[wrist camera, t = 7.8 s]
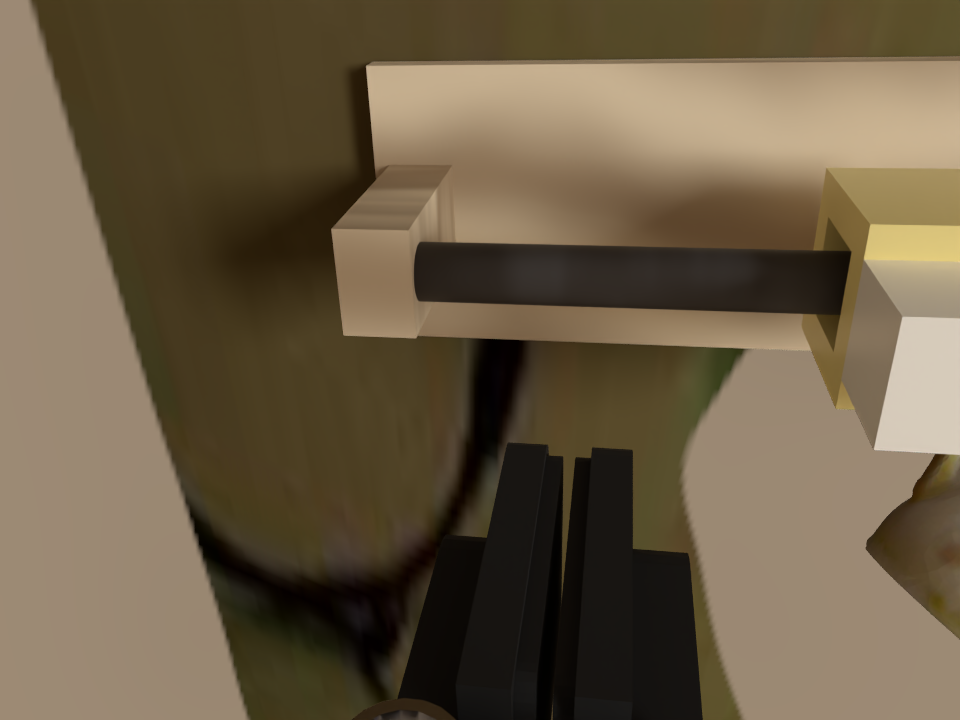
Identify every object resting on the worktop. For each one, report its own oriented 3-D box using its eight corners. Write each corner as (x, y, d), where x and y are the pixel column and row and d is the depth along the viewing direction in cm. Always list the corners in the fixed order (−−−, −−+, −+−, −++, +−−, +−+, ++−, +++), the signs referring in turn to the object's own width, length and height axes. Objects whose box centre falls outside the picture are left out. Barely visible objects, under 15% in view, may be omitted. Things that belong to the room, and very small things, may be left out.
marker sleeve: (826, 167, 22) (911, 277, 16) (991, 168, 22) (1150, 283, 15) (801, 326, 25) (866, 482, 18) (950, 332, 24) (1075, 494, 17)
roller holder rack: (372, 61, 27) (291, 111, 20) (1157, 54, 23) (1362, 111, 17) (395, 325, 31) (333, 436, 24) (1063, 349, 27) (1198, 485, 21)
